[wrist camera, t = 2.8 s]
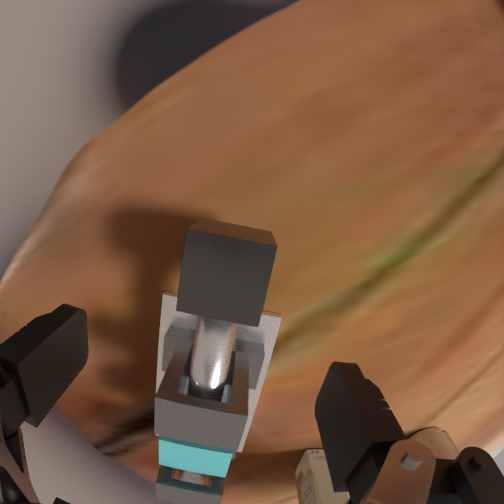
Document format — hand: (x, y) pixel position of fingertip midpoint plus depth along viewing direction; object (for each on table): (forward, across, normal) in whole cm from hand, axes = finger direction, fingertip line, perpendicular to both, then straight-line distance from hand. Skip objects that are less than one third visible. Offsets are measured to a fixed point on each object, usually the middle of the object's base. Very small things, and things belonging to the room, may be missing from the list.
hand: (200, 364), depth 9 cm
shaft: (+13, 0, +11) cm, 17 cm away
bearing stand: (+18, 0, +16) cm, 24 cm away
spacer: (+13, 0, +17) cm, 21 cm away
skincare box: (+18, -16, +28) cm, 37 cm away
